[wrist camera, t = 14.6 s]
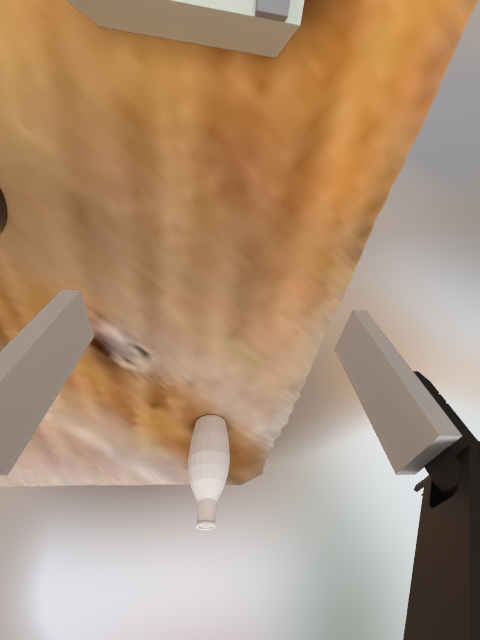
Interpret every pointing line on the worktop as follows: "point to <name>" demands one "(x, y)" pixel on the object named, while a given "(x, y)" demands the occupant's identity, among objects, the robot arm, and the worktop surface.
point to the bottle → (208, 466)
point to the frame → (203, 21)
